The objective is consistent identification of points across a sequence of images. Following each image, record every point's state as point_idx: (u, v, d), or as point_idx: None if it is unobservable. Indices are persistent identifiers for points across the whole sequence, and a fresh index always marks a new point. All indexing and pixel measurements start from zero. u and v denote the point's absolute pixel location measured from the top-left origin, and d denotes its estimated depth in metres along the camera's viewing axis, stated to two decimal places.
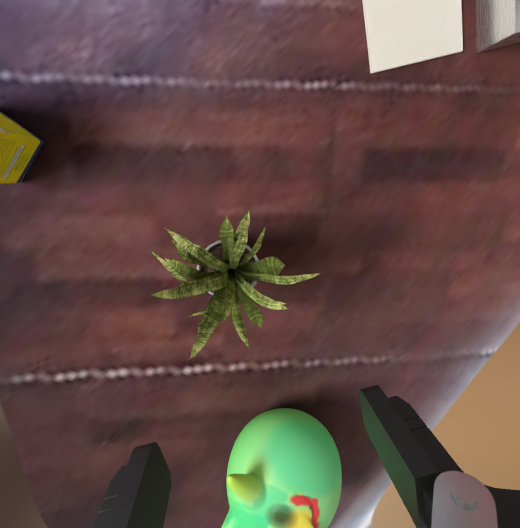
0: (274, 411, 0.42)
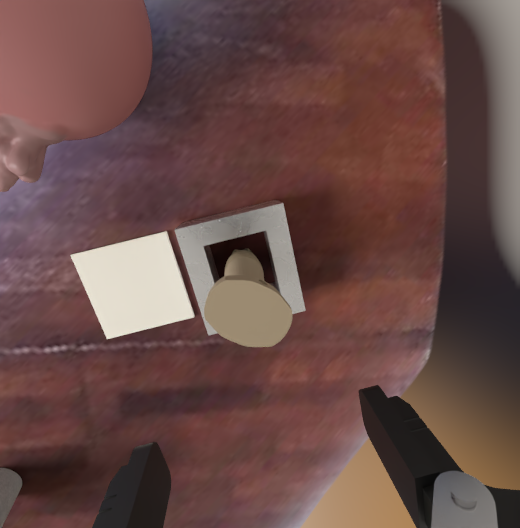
0: None
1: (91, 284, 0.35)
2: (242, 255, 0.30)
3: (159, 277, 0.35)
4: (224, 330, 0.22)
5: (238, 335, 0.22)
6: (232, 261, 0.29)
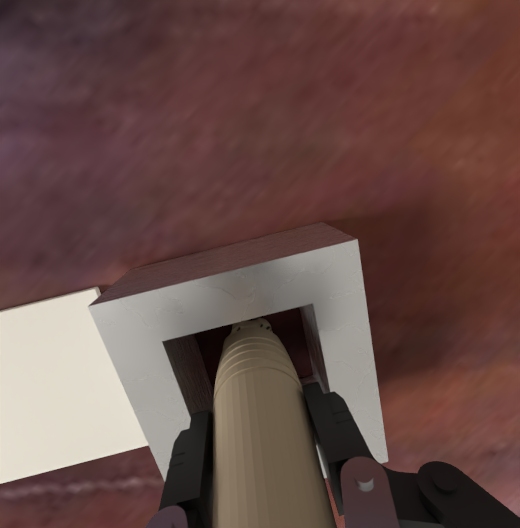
0: None
1: None
2: (255, 361, 0.13)
3: (86, 376, 0.18)
4: None
5: None
6: (232, 384, 0.12)
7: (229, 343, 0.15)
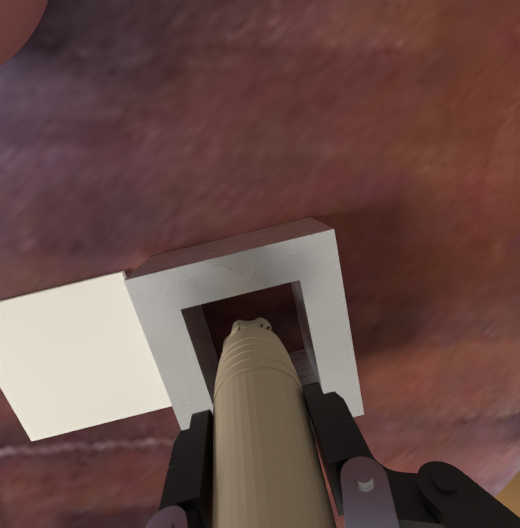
0: None
1: None
2: (256, 361, 0.13)
3: (112, 346, 0.21)
4: None
5: None
6: (232, 384, 0.12)
7: (229, 343, 0.15)
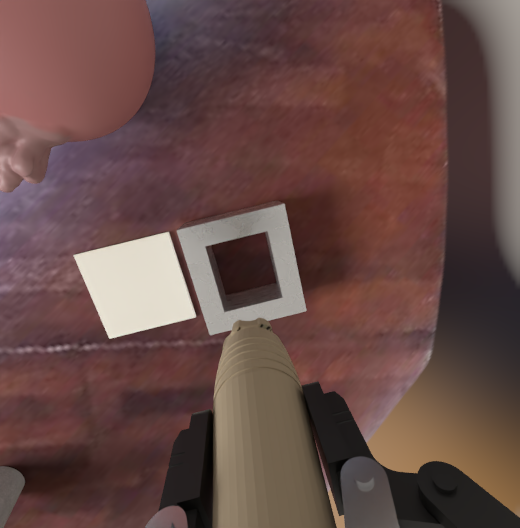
0: None
1: (94, 284, 0.35)
2: (256, 361, 0.13)
3: (161, 277, 0.35)
4: None
5: None
6: (232, 384, 0.12)
7: (229, 343, 0.15)
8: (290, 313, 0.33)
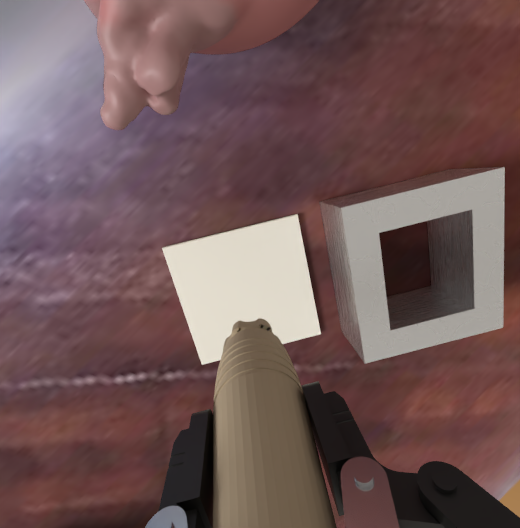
0: None
1: (187, 290, 0.25)
2: (256, 362, 0.13)
3: (280, 280, 0.25)
4: None
5: None
6: (232, 385, 0.12)
7: (229, 344, 0.15)
8: (480, 331, 0.23)
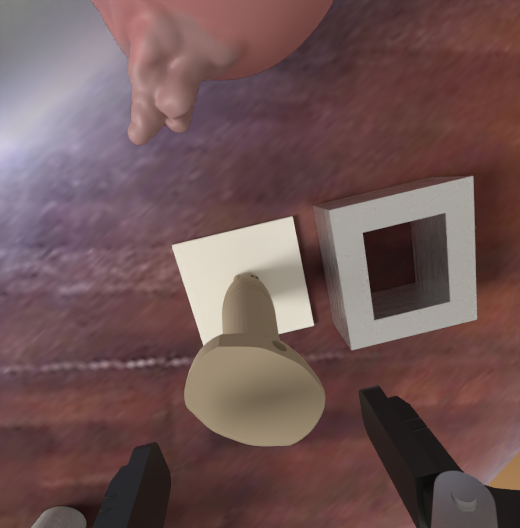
0: None
1: (193, 283, 0.27)
2: (246, 287, 0.22)
3: (277, 275, 0.28)
4: (217, 422, 0.14)
5: (238, 429, 0.14)
6: (233, 296, 0.21)
7: (231, 283, 0.25)
8: (456, 322, 0.25)
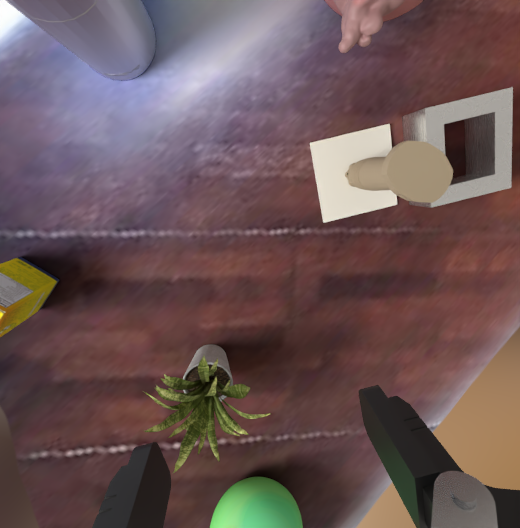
0: (248, 482, 0.50)
1: (321, 170, 0.41)
2: None
3: None
4: (399, 185, 0.27)
5: (409, 190, 0.27)
6: (368, 159, 0.35)
7: (355, 163, 0.38)
8: (498, 189, 0.39)
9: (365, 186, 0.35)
